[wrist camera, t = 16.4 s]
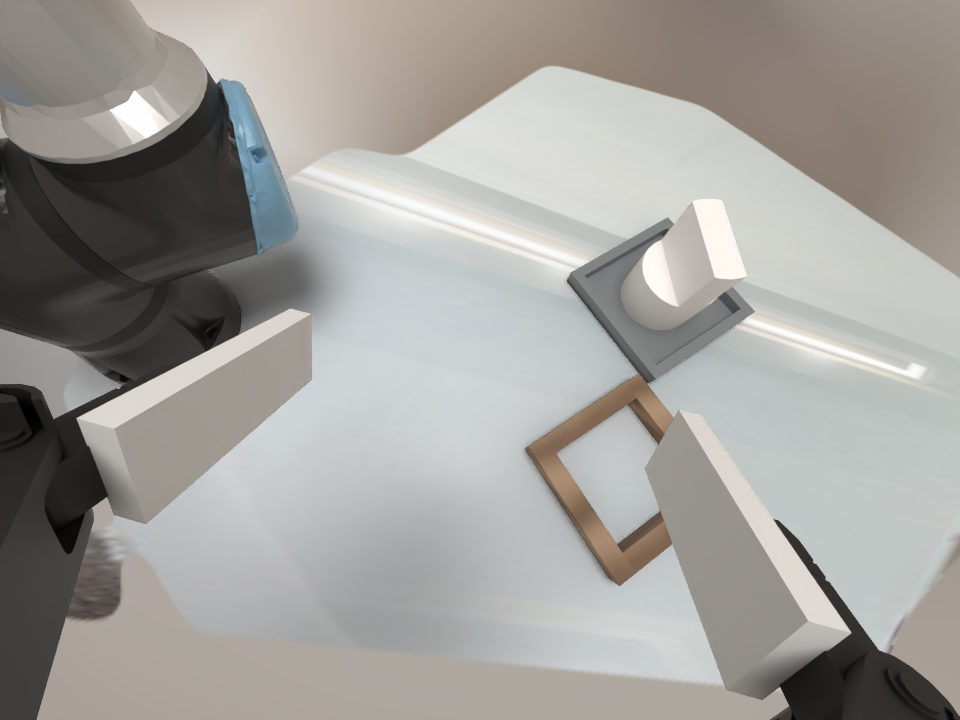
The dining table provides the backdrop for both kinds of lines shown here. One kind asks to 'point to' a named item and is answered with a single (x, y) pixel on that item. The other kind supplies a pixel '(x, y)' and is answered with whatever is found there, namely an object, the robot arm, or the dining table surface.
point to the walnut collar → (612, 557)
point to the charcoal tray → (637, 342)
